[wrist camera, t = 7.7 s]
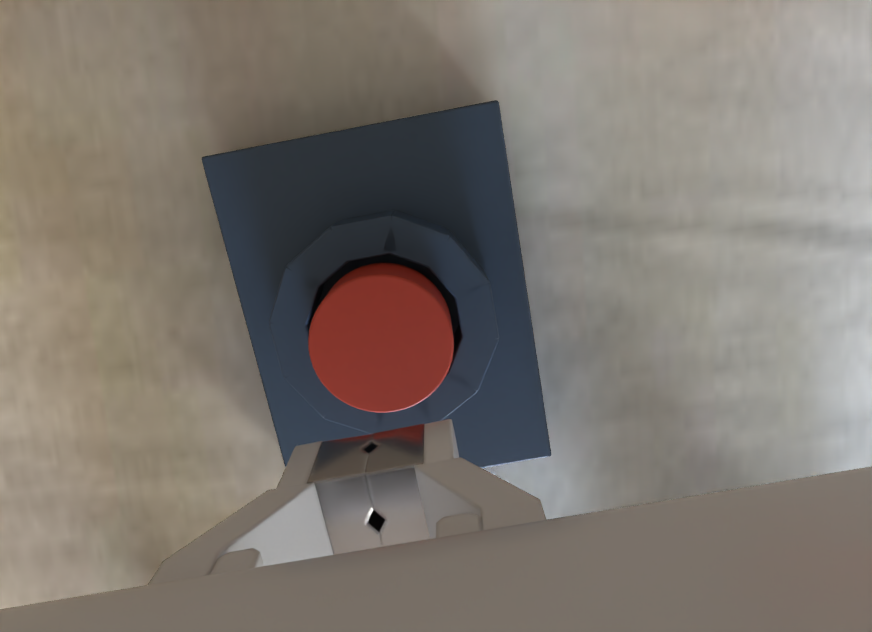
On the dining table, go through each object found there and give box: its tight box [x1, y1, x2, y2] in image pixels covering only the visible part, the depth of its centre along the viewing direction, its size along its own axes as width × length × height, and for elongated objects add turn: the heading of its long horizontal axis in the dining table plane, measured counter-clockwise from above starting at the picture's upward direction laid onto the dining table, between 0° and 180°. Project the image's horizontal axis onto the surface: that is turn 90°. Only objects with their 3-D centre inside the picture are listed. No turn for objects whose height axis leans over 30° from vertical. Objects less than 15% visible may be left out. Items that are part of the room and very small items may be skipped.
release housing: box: [202, 101, 551, 468], centre depth 22 cm, size 13×10×4 cm
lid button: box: [308, 263, 454, 413], centre depth 20 cm, size 4×4×2 cm
